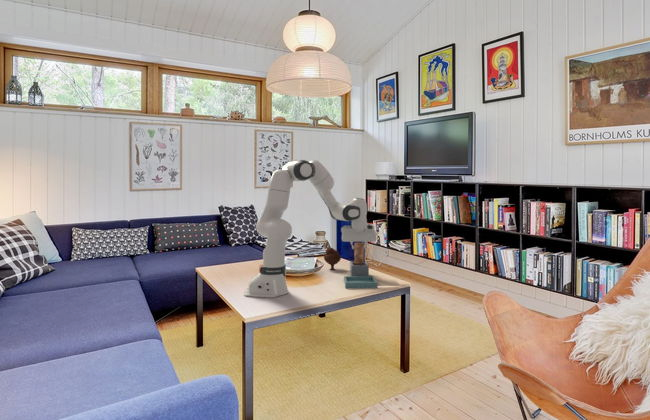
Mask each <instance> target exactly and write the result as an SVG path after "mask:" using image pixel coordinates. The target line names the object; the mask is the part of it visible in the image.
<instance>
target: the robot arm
mask: <svg viewBox="0 0 650 420" xmlns="http://www.w3.org/2000/svg"><path fill="white" fill-rule="evenodd" d="M307 180H309V181H310V184H312V186H313V187H314V188H315V189H316V190H317V193H318V194H319V196H320V198H321V199H322V201H324V204H325V205H326V207H327V209H328V212H329V215H330V217H331V218H332V219H334V220H335V221H344V222H351V225H343V226H342V227H341V228H340V232H341V242H348V243H349V242H350V245H351V249H352V250H355V245H353V244H354V243H363V242H364V244H363V250H366V248H367V245H368V244H369V243H371V242H372V243H373V242H376V241H377V233H376V230H375V225H374V224H371V223H370V222H369V223H368V219H367V214H368V208H367V207H368V205H367V200H366V199H365V198H361V197H353V198H352V200H350V201H349V202H347V203H341V202H338V200H336V197H335V196H334V195H333V193H332V191H331V190H332V189H333V188H334V186H335V181H334V178H333V177H332V175H331V173H330V172H329V171H328V169H327V168H326V167H325V166H324V165H323V163H321V162H320V161H319V160H317V159H312V160H309V161H308V160H306V159H294V160H287V162H285V163H283V165H282V166H281V168H280V169H277V170H274V171H273V172H272V175H271V177H270V180H269V185H268V191H267V197H266V202H265V206H264V209H263V211H262V214H261V217H259V219H258V220H257V221H256V224H255V230H256V231H257V233H258V234H259V235H260V236H261V237H264V238H266V239H267V241H266V245H265V247H264V249H263V251H262V263H263V264H260V265H259V270H258V271H259V273H257V274H256V275H255V276H254V277H253V278H252V279H251V280H250V281H249V283H248V288H246V289H245V290H244V292H243V295H244V297H252V298H254V297H255V298H276V297H279V296H280V297H281V296H283V295H286V294H288V293H289V289H288V285H287V280H286V278H287V277H286V275H287V267H286V261H285V260H286V259H285V258H286V256H285V255H286V245H287V244H288V243H287V242H288V239H289V238H290V237H291V235H292V233H293V227H292V225H291V223H290V222H289V221H287V220H285V219H283V218H282V217H283V214H284V212H285V211H286V210H287V209H288V207H289V199H290V194H291V186H292V184H293V182H304V181H307ZM368 242H369V243H368Z"/></svg>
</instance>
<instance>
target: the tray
mask: <svg viewBox="0 0 650 420" xmlns="http://www.w3.org/2000/svg"><path fill="white" fill-rule="evenodd" d="M343 282H344V286H345V289H378V281H377V280H376V278H375V275H369V276H350V275H348V276H347V275H345V276H344V275H343Z"/></svg>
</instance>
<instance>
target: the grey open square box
mask: <svg viewBox="0 0 650 420" xmlns="http://www.w3.org/2000/svg"><path fill="white" fill-rule="evenodd" d="M369 267H370V265H369V264H368V262H367V261H363V265H354V261H350V262H349V276H370V275H369V274H370V273H369V270H370V268H369Z"/></svg>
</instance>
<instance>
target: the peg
mask: <svg viewBox="0 0 650 420" xmlns="http://www.w3.org/2000/svg"><path fill="white" fill-rule="evenodd" d="M354 246H355V249H354V254H353V255H354V257H353V258H354V261H353V262H354V265H363V262H364V249H363V246H364V243H363V242H354Z"/></svg>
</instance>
